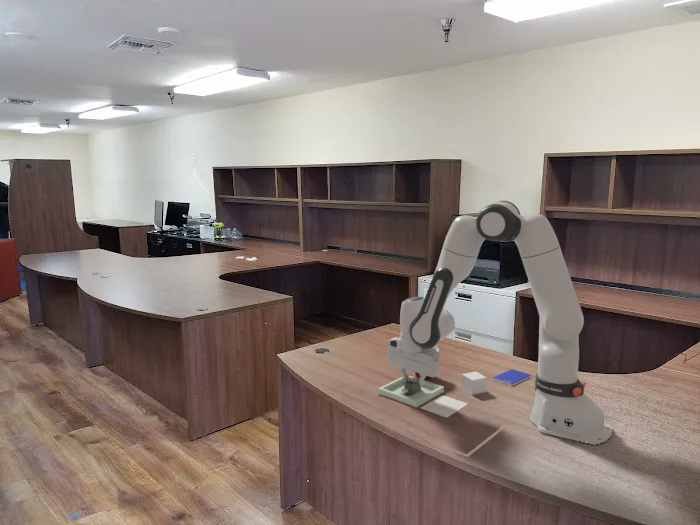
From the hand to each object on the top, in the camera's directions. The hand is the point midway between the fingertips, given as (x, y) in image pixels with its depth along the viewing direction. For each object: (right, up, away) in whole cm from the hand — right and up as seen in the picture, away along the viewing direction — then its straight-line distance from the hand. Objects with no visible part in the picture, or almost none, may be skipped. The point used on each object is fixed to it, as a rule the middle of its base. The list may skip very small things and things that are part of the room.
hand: (412, 382), depth 171 cm
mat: (+9, -6, -10) cm, 15 cm away
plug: (0, -3, +1) cm, 4 cm away
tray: (-1, -4, 0) cm, 4 cm away
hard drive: (+38, -2, +13) cm, 40 cm away
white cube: (+21, -4, +1) cm, 22 cm away
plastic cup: (+6, -2, +14) cm, 16 cm away
